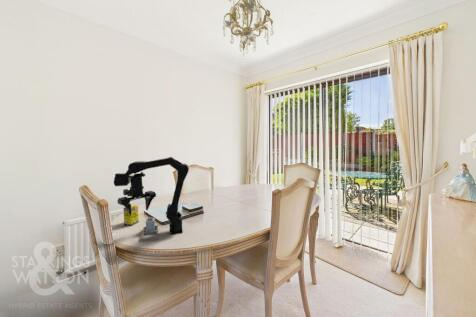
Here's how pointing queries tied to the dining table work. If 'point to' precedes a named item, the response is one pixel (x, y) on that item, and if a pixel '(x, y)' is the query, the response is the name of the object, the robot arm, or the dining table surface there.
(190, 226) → the dining table surface
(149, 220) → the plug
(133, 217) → the supplement box
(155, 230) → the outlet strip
